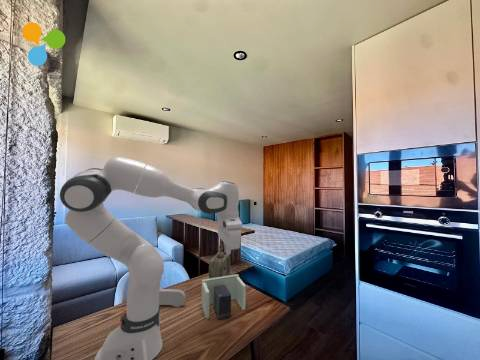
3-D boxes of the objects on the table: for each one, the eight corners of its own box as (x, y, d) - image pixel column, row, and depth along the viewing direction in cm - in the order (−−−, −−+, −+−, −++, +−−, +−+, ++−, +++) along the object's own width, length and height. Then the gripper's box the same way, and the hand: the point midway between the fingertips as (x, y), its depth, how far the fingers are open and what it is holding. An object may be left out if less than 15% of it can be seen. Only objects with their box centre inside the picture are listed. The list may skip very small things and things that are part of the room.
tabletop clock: (222, 292, 117) (222, 249, 118) (207, 289, 120) (208, 247, 120) (230, 280, 131) (230, 241, 132) (217, 278, 134) (217, 240, 134)
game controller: (185, 304, 105) (186, 288, 105) (184, 307, 103) (184, 291, 103) (148, 303, 106) (149, 287, 106) (146, 306, 103) (146, 290, 103)
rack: (205, 318, 95) (206, 291, 95) (201, 304, 105) (201, 279, 106) (245, 309, 102) (245, 283, 102) (237, 297, 113) (237, 274, 113)
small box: (231, 316, 96) (232, 294, 96) (218, 319, 94) (218, 297, 94) (225, 304, 106) (225, 284, 106) (213, 306, 104) (213, 286, 104)
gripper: (214, 216, 93) (214, 246, 93) (228, 225, 74) (227, 263, 74) (227, 215, 96) (227, 245, 96) (244, 224, 77) (243, 261, 76)
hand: (227, 253), depth 85 cm, fingers closed
